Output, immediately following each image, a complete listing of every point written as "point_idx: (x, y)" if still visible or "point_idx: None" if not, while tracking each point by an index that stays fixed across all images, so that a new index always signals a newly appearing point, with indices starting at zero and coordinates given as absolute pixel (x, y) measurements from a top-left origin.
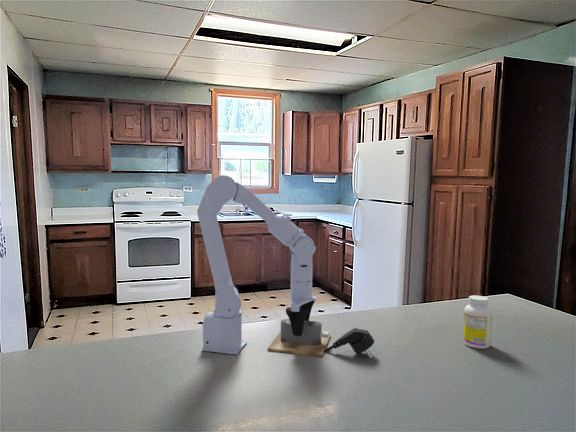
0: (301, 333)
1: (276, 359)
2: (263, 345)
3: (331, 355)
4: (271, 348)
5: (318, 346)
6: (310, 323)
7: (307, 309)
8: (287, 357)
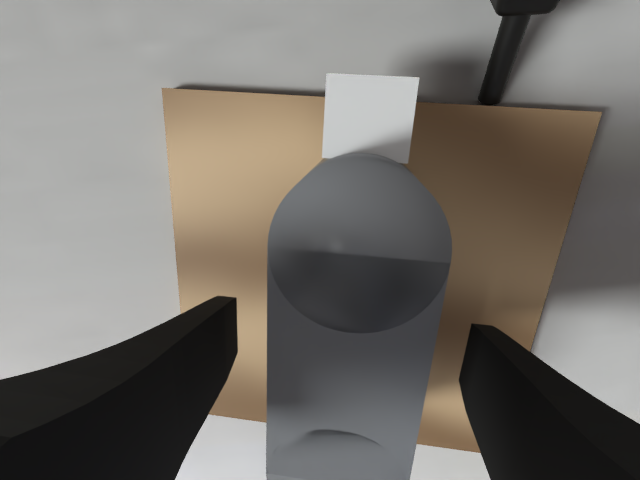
0: (507, 337)
1: (625, 391)
2: (421, 465)
3: (556, 36)
4: None
5: (437, 159)
6: (352, 294)
7: (142, 414)
8: (595, 338)
